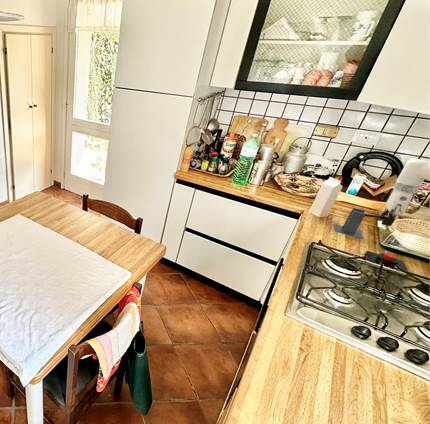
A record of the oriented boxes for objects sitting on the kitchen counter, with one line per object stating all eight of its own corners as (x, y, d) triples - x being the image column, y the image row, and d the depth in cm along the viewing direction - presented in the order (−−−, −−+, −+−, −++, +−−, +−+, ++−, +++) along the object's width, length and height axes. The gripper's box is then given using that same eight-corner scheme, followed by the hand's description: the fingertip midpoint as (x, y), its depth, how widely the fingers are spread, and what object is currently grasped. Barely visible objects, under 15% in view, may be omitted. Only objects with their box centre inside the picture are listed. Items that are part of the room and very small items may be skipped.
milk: (317, 218, 166) (336, 181, 155) (307, 213, 171) (325, 177, 160) (327, 217, 167) (346, 180, 156) (316, 212, 172) (334, 176, 162)
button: (393, 258, 130) (395, 254, 129) (394, 262, 127) (397, 258, 126) (381, 254, 132) (384, 251, 131) (383, 258, 129) (385, 255, 128)
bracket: (360, 232, 154) (373, 210, 148) (362, 240, 148) (376, 217, 141) (332, 225, 160) (344, 204, 154) (333, 232, 153) (345, 210, 147)
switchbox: (400, 264, 132) (406, 257, 130) (405, 276, 125) (411, 269, 123) (363, 254, 138) (368, 247, 136) (366, 265, 131) (371, 257, 129)
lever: (387, 218, 144) (389, 213, 143) (388, 222, 141) (390, 218, 140) (352, 213, 151) (354, 209, 150) (353, 217, 148) (354, 213, 147)
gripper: (422, 195, 127) (399, 232, 136) (413, 183, 139) (392, 217, 148) (397, 191, 131) (376, 227, 140) (391, 179, 143) (372, 213, 152)
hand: (385, 222), depth 143 cm, fingers closed on lever, 5 cm apart
